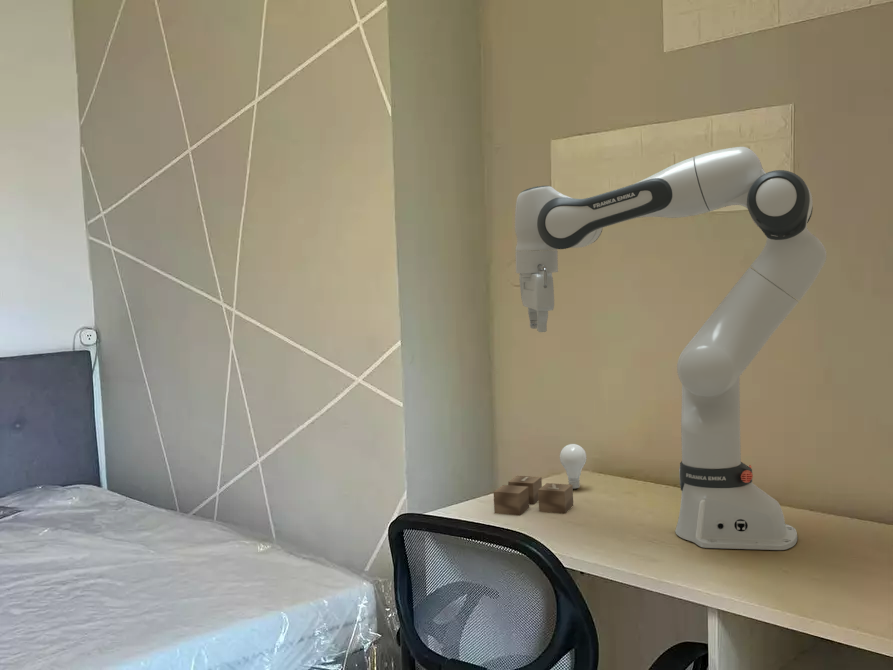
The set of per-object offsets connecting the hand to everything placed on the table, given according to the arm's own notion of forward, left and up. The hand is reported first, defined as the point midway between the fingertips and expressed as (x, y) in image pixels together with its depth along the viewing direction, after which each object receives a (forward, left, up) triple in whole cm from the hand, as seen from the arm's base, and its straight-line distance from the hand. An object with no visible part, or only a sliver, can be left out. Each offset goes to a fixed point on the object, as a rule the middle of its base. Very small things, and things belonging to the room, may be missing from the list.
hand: (538, 330), depth 187 cm
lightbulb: (+1, -24, -41) cm, 47 cm away
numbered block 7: (0, -7, -41) cm, 41 cm away
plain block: (+9, -3, -41) cm, 42 cm away
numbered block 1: (+9, -12, -41) cm, 43 cm away
